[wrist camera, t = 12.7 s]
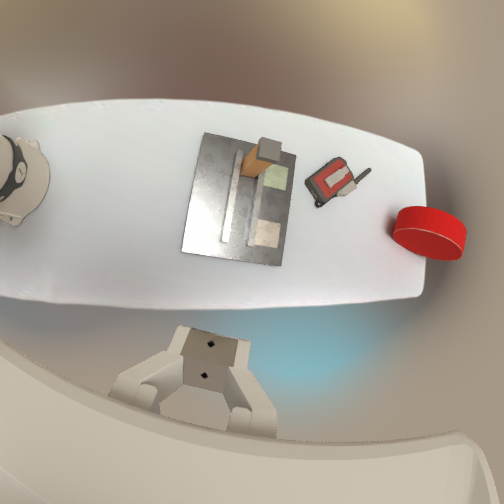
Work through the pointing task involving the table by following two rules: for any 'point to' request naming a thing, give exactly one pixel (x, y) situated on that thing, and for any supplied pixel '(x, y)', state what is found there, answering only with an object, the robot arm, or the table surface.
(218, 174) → the grey metal board
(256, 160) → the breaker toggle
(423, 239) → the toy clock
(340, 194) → the walkie-talkie
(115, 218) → the table surface
